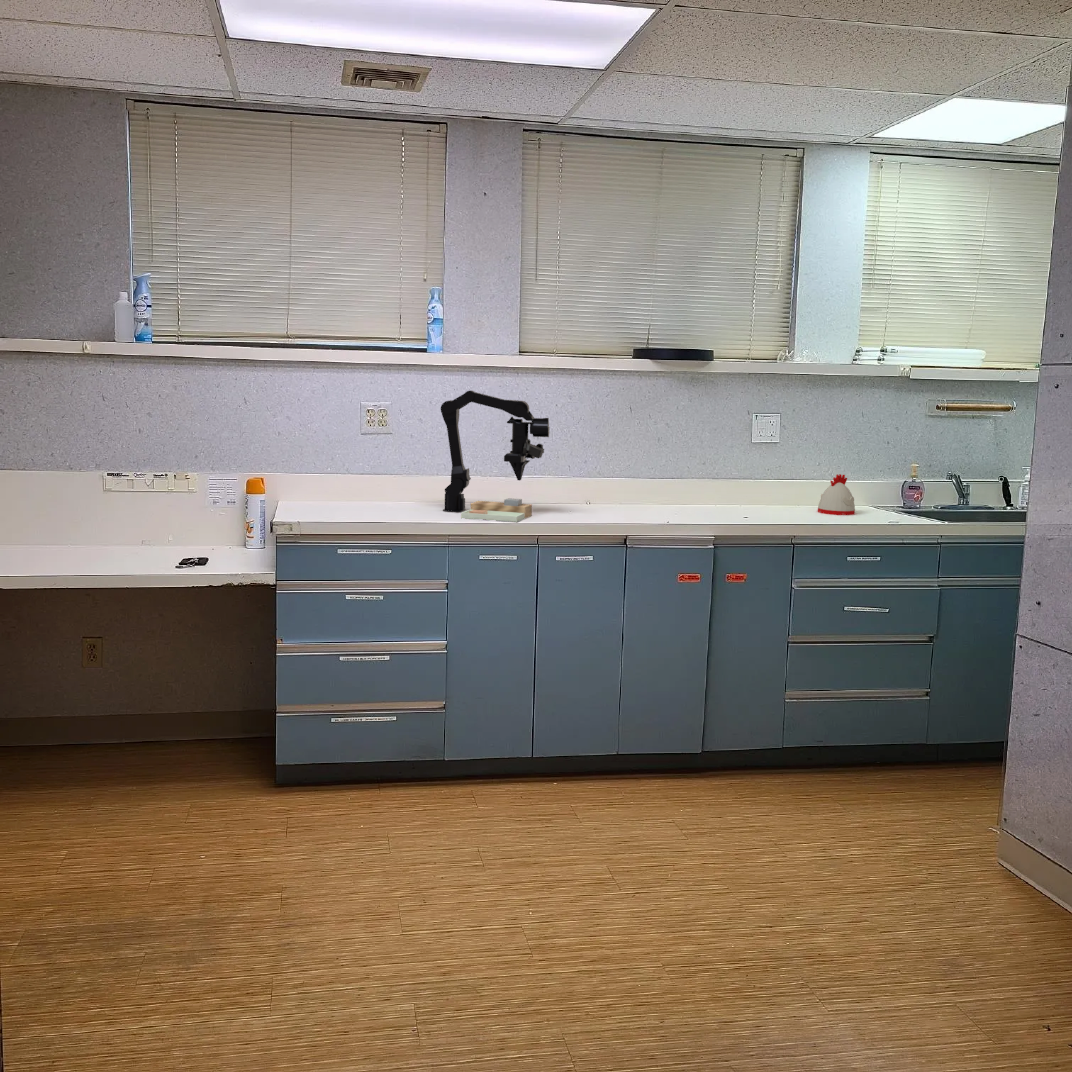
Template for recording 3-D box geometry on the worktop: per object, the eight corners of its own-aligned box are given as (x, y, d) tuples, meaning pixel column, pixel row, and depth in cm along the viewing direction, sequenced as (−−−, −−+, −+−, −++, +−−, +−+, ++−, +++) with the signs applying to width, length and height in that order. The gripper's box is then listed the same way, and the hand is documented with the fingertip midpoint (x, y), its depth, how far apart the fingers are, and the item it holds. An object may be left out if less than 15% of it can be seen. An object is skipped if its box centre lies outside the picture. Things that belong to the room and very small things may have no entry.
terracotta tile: (474, 509, 375) (473, 515, 375) (469, 511, 370) (469, 517, 370) (487, 510, 374) (487, 516, 374) (483, 512, 369) (483, 518, 369)
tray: (461, 518, 370) (461, 512, 369) (470, 514, 379) (470, 509, 378) (516, 522, 364) (516, 516, 364) (524, 518, 373) (524, 513, 373)
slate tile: (504, 505, 376) (504, 499, 376) (508, 503, 381) (508, 498, 381) (517, 506, 375) (517, 500, 375) (521, 504, 380) (521, 499, 379)
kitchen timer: (862, 514, 414) (865, 475, 412) (836, 516, 407) (839, 476, 405) (835, 509, 426) (838, 472, 424) (810, 511, 419) (812, 472, 417)
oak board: (470, 514, 379) (470, 503, 378) (478, 511, 387) (478, 500, 387) (524, 518, 374) (525, 507, 373) (531, 515, 382) (531, 504, 381)
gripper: (534, 439, 370) (533, 484, 373) (549, 435, 388) (548, 478, 390) (503, 437, 373) (503, 482, 376) (519, 434, 391) (518, 477, 393)
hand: (519, 480), depth 384 cm, fingers closed
